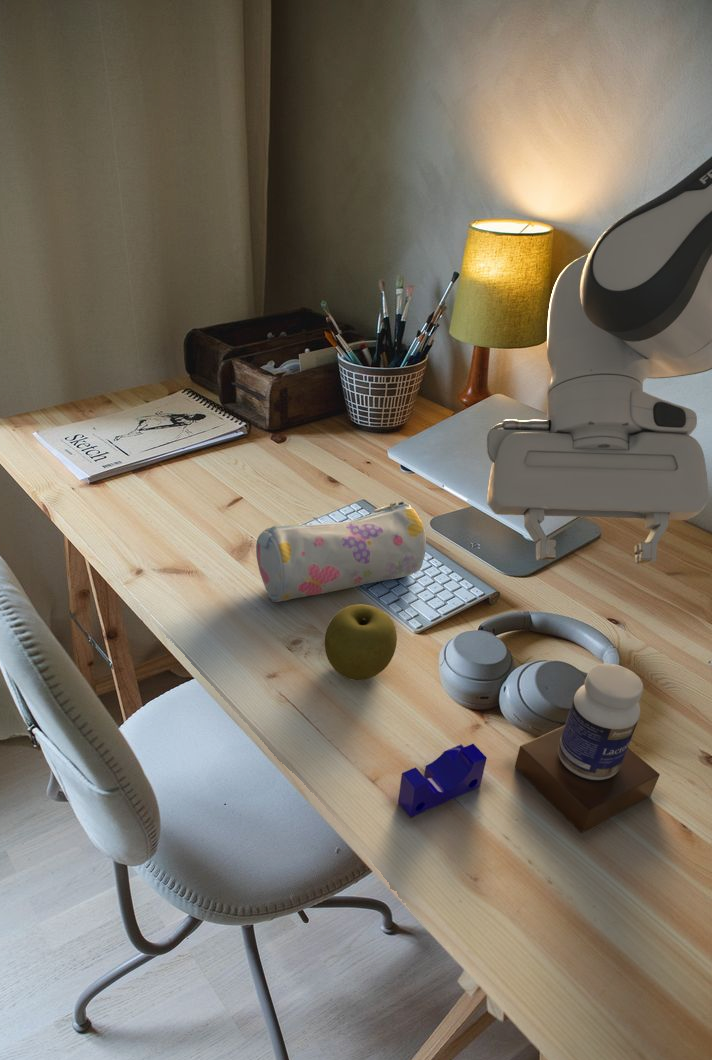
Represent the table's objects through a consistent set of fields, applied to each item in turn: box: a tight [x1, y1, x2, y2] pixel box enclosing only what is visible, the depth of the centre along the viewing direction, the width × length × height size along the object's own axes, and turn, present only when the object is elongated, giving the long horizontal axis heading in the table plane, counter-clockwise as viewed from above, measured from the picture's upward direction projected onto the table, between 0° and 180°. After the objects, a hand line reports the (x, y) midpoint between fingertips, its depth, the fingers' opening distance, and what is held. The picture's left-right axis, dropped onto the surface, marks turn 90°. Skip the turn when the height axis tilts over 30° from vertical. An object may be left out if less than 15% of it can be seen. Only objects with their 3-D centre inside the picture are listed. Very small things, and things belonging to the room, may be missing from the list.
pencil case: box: [255, 500, 427, 603], centre depth 101 cm, size 21×9×10 cm, turn 113°
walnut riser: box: [514, 725, 661, 833], centre depth 78 cm, size 9×9×3 cm
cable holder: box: [397, 743, 488, 818], centre depth 76 cm, size 8×4×4 cm, turn 118°
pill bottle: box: [558, 662, 644, 780], centre depth 74 cm, size 6×6×10 cm
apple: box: [323, 603, 398, 681], centre depth 89 cm, size 8×8×7 cm
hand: (595, 561), depth 78 cm, fingers open, 8 cm apart
